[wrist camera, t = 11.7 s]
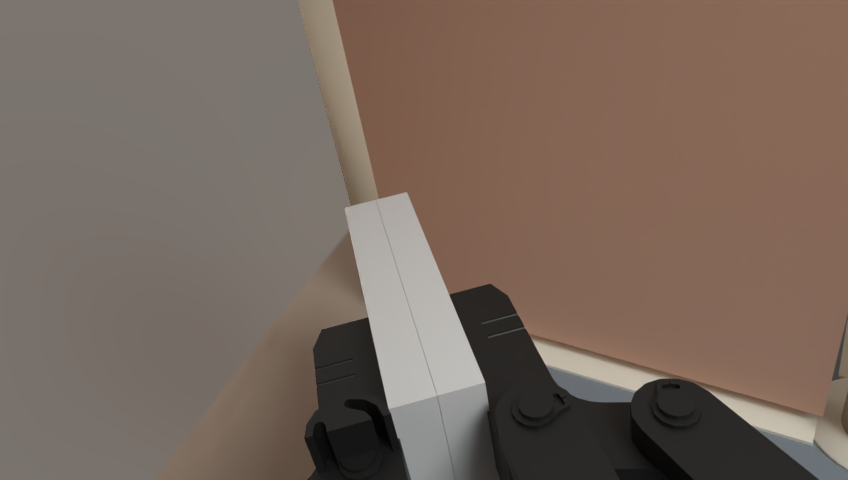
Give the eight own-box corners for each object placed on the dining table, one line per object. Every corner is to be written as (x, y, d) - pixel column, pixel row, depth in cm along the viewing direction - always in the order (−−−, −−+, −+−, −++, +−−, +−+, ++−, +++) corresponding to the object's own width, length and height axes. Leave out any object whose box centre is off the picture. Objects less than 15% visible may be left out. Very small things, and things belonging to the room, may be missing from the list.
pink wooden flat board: (830, 377, 18) (958, -160, 11) (821, 424, 17) (958, -145, 10) (391, 265, 26) (307, -86, 19) (363, 292, 24) (263, -72, 18)
